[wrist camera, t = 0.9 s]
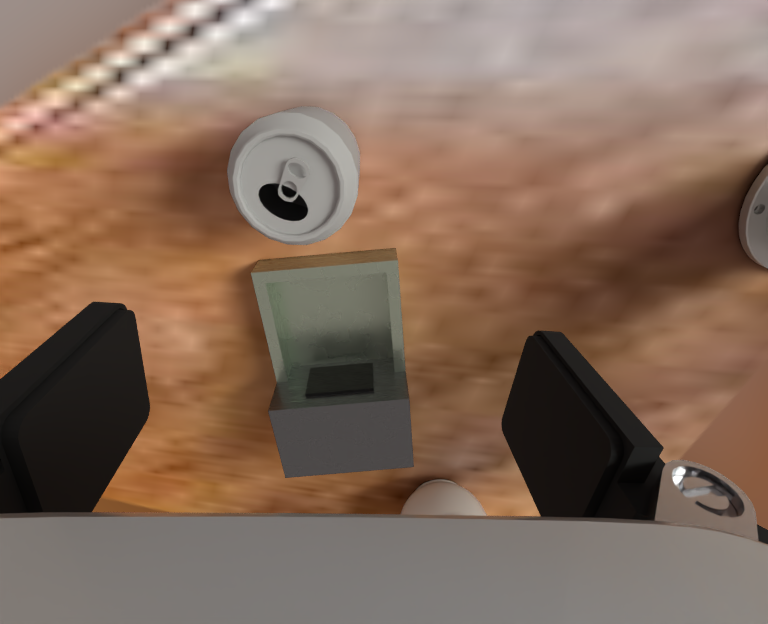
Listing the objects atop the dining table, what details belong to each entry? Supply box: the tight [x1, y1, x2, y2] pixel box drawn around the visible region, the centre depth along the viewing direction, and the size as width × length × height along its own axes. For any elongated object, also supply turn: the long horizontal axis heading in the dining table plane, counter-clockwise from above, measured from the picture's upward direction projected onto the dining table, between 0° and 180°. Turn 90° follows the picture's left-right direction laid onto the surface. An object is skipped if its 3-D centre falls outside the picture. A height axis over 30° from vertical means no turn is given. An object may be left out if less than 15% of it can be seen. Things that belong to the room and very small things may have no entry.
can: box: [227, 106, 360, 245], centre depth 29 cm, size 8×8×12 cm
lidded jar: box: [401, 479, 487, 516], centre depth 48 cm, size 11×11×9 cm
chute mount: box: [251, 248, 414, 478], centre depth 39 cm, size 12×19×7 cm, turn 5°
